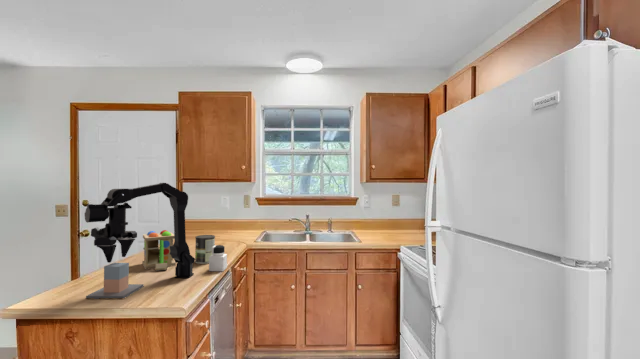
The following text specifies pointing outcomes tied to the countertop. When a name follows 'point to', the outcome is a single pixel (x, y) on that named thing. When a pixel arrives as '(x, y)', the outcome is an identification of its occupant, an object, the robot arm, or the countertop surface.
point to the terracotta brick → (115, 285)
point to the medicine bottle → (218, 259)
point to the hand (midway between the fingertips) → (116, 259)
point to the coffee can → (204, 248)
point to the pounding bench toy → (158, 250)
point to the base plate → (122, 294)
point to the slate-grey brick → (116, 271)
